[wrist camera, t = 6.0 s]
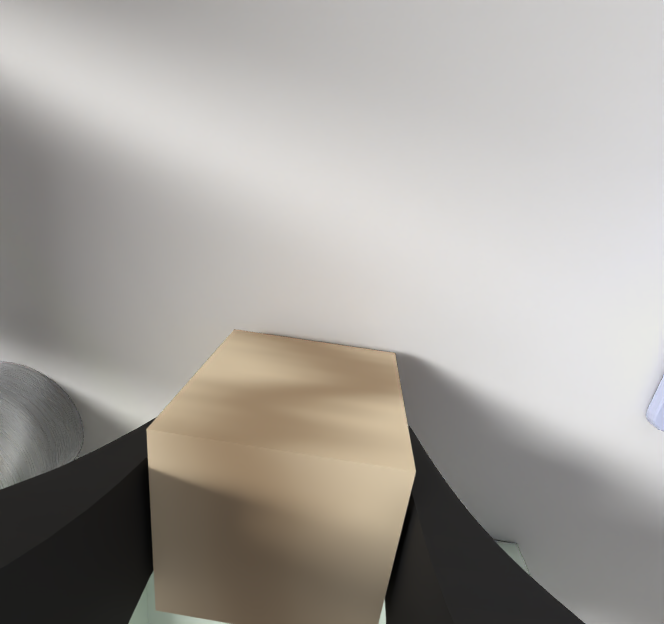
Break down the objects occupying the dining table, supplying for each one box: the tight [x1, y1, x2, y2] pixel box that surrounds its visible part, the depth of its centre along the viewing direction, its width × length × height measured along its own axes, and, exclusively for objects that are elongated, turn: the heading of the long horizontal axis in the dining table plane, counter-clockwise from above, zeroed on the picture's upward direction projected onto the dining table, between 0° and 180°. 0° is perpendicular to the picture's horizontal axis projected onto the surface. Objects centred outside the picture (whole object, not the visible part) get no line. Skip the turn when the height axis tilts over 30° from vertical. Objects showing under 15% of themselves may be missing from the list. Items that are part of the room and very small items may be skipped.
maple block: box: [146, 329, 416, 624], centre depth 10 cm, size 5×5×5 cm
